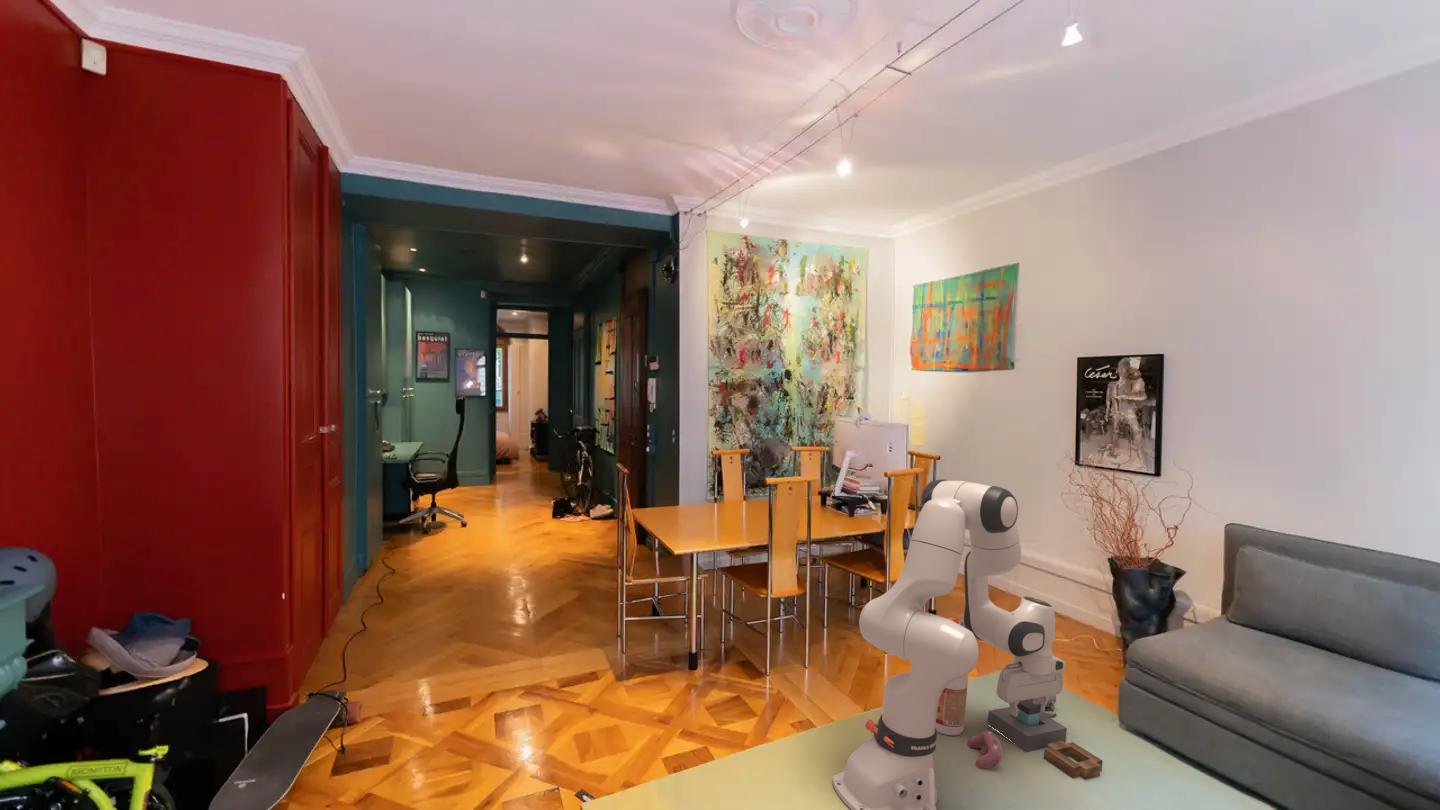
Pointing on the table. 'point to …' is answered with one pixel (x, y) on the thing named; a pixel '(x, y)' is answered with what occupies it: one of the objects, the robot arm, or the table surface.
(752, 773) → the table surface
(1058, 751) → the brown wooden square frame
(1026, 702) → the plug
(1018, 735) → the port
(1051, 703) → the ceramic mug
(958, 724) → the fruit juice
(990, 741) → the video game controller
